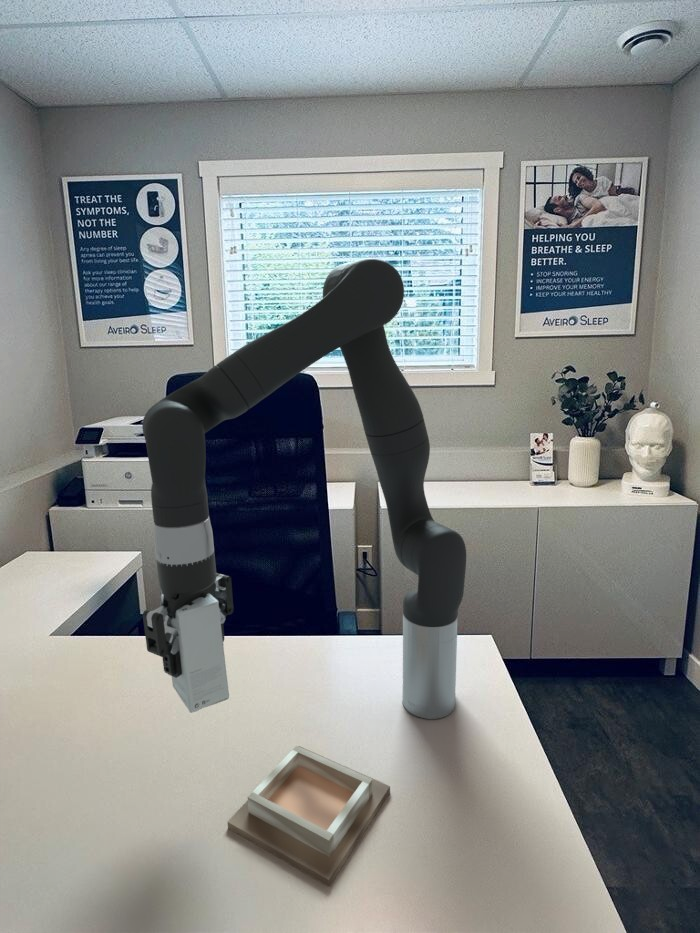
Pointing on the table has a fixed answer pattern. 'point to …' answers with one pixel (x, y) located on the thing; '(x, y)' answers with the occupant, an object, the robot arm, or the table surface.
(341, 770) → the holder board
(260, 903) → the table surface
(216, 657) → the skincare box
